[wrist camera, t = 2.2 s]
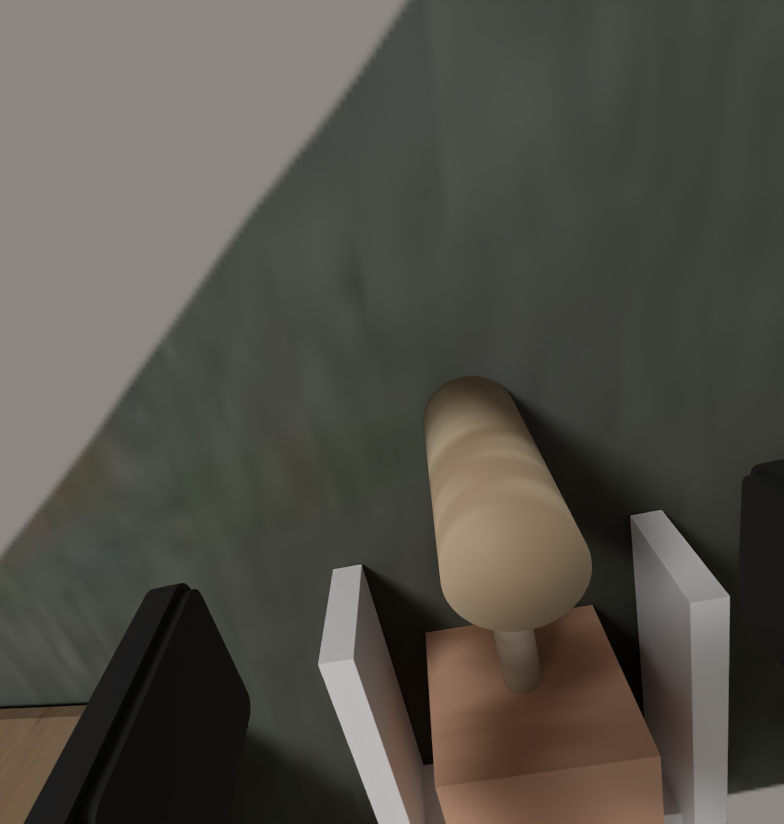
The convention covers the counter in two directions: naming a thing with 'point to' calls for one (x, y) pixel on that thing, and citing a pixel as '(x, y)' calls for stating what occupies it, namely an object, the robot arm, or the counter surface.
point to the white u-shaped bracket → (660, 670)
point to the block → (522, 638)
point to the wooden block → (30, 754)
